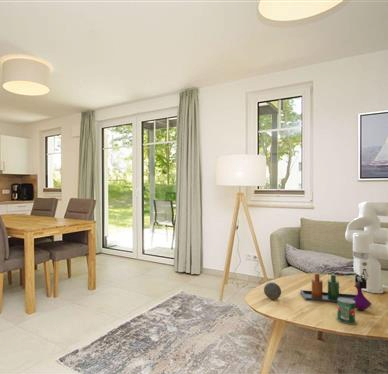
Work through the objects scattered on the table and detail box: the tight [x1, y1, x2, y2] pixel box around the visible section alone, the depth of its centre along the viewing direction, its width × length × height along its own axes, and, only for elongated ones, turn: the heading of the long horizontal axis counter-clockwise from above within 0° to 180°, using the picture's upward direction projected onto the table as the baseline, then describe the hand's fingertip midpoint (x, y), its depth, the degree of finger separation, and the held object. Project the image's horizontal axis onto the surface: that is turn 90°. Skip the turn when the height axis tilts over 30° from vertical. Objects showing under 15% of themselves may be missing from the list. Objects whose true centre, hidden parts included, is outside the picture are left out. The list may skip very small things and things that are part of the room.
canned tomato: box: [336, 297, 356, 325], centre depth 160 cm, size 8×8×11 cm
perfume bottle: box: [353, 276, 372, 311], centre depth 171 cm, size 8×8×18 cm
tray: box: [300, 289, 357, 304], centre depth 188 cm, size 34×14×2 cm, turn 74°
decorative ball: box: [263, 282, 282, 300], centre depth 190 cm, size 10×10×10 cm
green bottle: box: [327, 273, 340, 300], centre depth 187 cm, size 6×6×15 cm
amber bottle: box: [311, 272, 324, 299], centre depth 190 cm, size 6×6×15 cm
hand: (360, 286), depth 171 cm, fingers closed on perfume bottle, 5 cm apart
